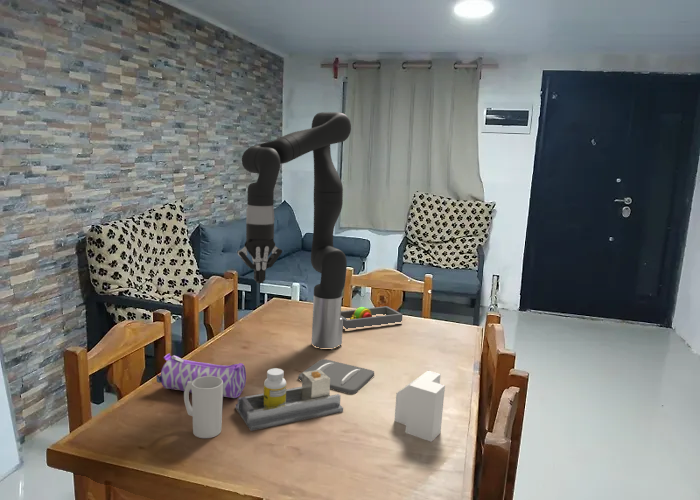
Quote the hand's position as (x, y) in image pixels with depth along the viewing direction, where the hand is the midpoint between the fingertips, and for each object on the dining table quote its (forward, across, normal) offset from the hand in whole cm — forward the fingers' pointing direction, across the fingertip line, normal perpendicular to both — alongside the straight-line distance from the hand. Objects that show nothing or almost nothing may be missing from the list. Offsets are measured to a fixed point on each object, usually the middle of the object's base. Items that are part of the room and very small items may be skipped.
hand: (259, 282), depth 152 cm
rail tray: (+27, +1, +25) cm, 36 cm away
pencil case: (+27, +17, +6) cm, 33 cm away
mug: (+27, +23, +25) cm, 43 cm away
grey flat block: (+28, -19, +12) cm, 36 cm away
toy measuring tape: (+28, -54, -28) cm, 67 cm away
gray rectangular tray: (+27, -53, -27) cm, 65 cm away
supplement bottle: (+26, +5, +24) cm, 36 cm away
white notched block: (+27, -25, +44) cm, 57 cm away
